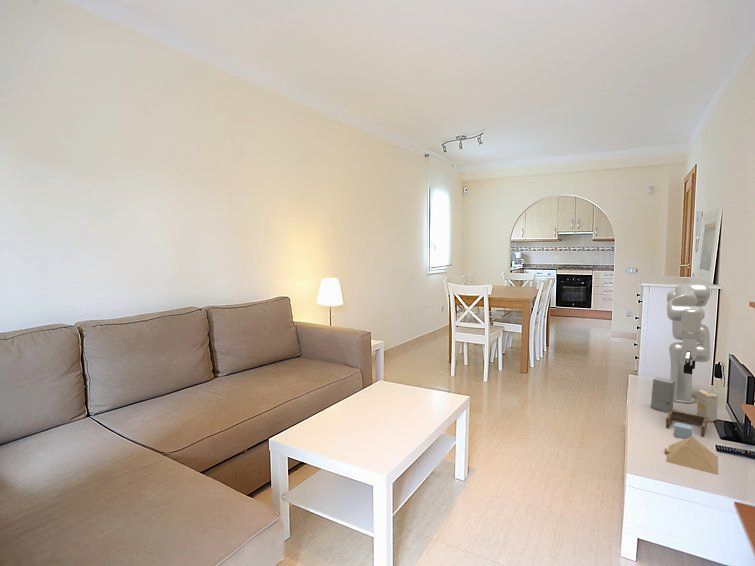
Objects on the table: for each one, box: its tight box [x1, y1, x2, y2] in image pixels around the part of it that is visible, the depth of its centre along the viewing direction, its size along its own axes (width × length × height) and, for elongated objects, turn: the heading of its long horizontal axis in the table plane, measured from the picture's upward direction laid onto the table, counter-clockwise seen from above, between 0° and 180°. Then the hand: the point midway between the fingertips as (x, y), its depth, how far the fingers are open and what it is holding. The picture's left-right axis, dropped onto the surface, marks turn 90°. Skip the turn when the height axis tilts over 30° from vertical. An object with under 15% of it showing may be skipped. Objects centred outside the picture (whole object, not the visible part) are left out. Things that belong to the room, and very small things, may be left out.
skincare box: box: [650, 376, 675, 413], centre depth 210 cm, size 8×7×16 cm
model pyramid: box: [664, 436, 719, 476], centre depth 162 cm, size 17×17×10 cm
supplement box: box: [696, 389, 719, 423], centre depth 197 cm, size 8×5×13 cm, turn 168°
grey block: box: [673, 422, 693, 440], centre depth 181 cm, size 4×6×5 cm
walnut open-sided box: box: [665, 409, 708, 438], centre depth 189 cm, size 13×14×4 cm
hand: (689, 370), depth 189 cm, fingers open, 9 cm apart
